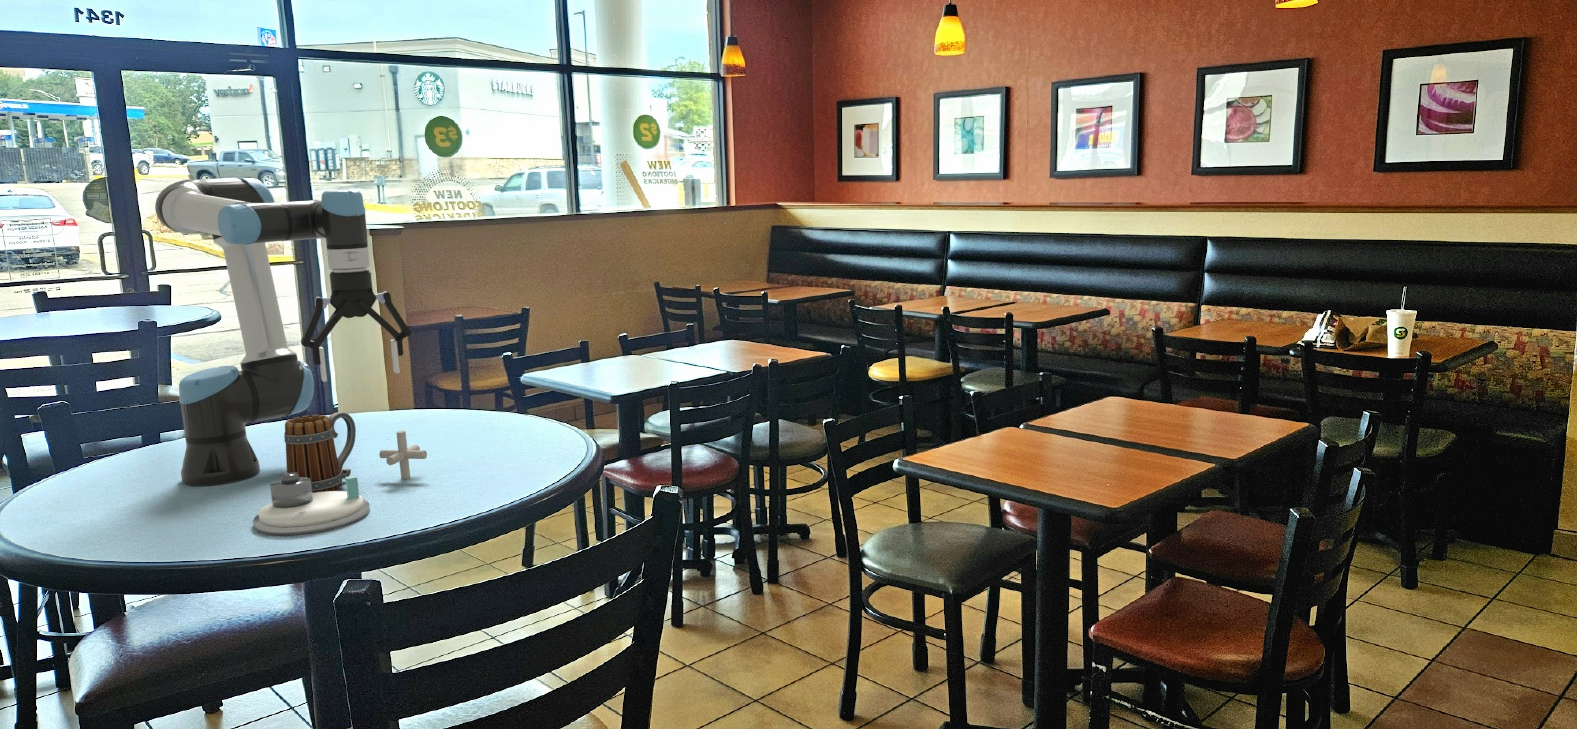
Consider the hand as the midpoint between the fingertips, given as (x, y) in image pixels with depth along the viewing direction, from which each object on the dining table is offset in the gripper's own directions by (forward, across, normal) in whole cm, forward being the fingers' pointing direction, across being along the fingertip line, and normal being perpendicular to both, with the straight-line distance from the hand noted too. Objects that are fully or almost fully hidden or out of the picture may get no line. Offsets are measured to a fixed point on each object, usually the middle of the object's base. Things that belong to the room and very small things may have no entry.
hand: (361, 376), depth 215 cm
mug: (+24, -8, +9) cm, 27 cm away
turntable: (+22, -13, -12) cm, 28 cm away
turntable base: (+24, -13, -12) cm, 29 cm away
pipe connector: (+24, +8, +6) cm, 26 cm away
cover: (+21, -15, -8) cm, 27 cm away
